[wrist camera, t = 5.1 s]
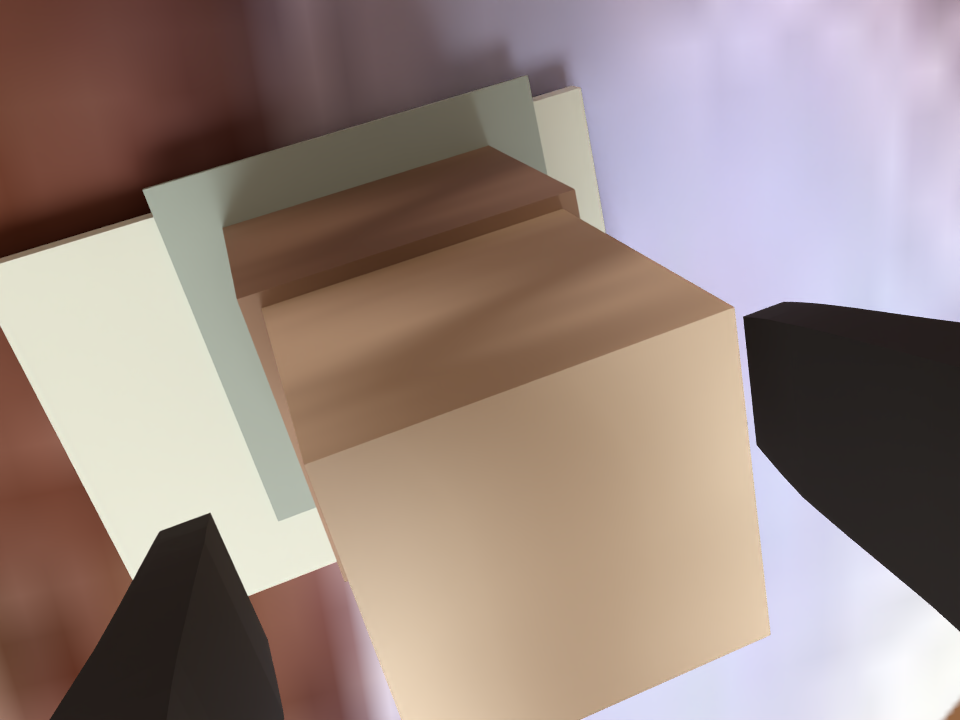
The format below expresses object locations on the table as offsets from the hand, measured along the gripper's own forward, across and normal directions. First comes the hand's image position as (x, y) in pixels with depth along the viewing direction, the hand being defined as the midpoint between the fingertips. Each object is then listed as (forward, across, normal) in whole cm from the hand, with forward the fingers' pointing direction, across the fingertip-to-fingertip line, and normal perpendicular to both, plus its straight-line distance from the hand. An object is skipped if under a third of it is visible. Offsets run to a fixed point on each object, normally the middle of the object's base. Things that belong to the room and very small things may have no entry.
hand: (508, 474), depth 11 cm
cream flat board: (+7, +1, +1) cm, 7 cm away
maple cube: (+2, 0, 0) cm, 2 cm away
